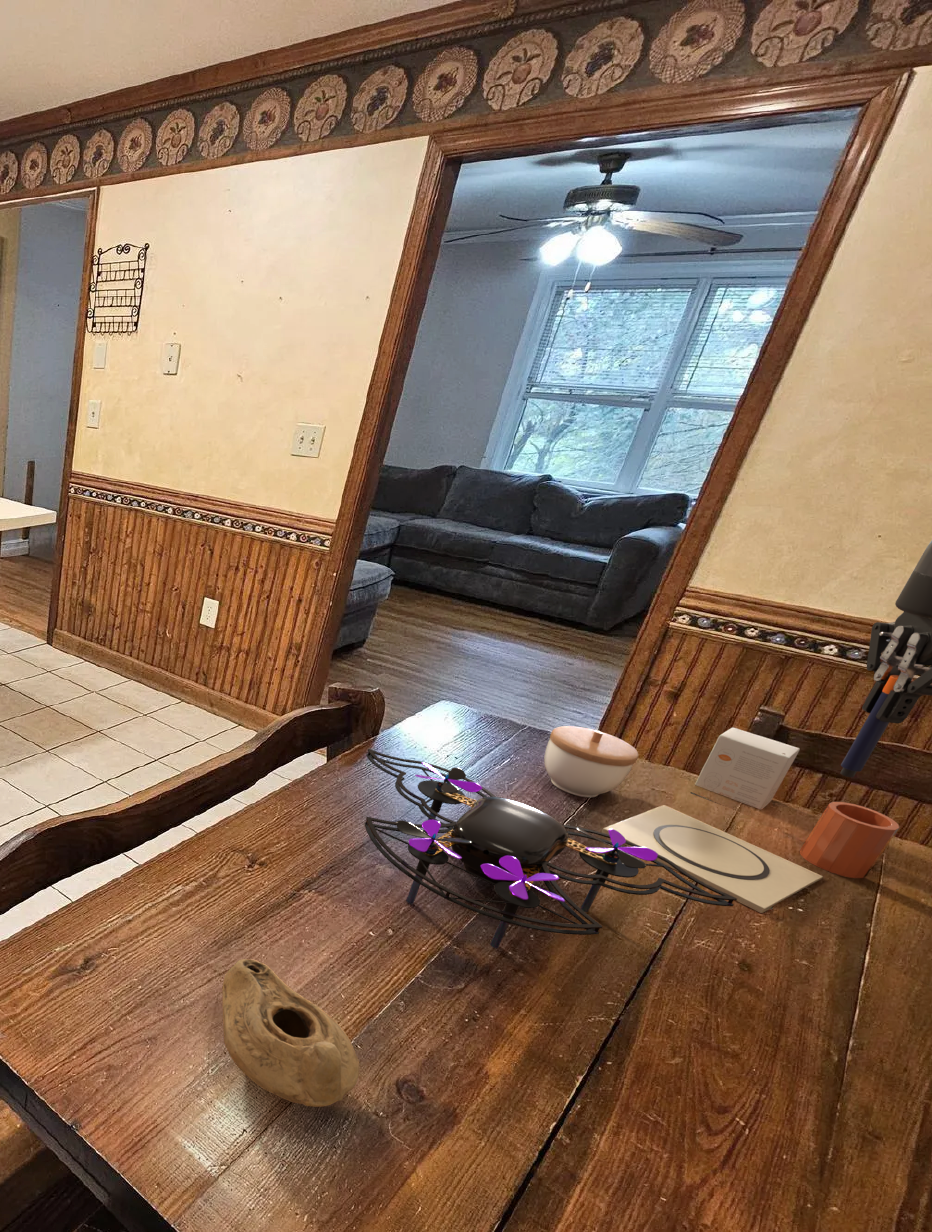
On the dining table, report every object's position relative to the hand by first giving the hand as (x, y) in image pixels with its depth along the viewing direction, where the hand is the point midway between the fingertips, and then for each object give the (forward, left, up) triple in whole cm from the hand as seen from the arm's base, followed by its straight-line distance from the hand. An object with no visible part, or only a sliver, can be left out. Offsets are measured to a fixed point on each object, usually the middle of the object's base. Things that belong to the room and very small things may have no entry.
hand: (880, 716), depth 93 cm
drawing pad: (+7, -6, -22) cm, 24 cm away
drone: (+46, -13, -23) cm, 53 cm away
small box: (-13, -12, -23) cm, 29 cm away
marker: (0, 0, -8) cm, 8 cm away
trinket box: (+5, -24, -23) cm, 33 cm away
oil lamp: (+86, -6, -23) cm, 89 cm away
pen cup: (-7, +2, -22) cm, 24 cm away
